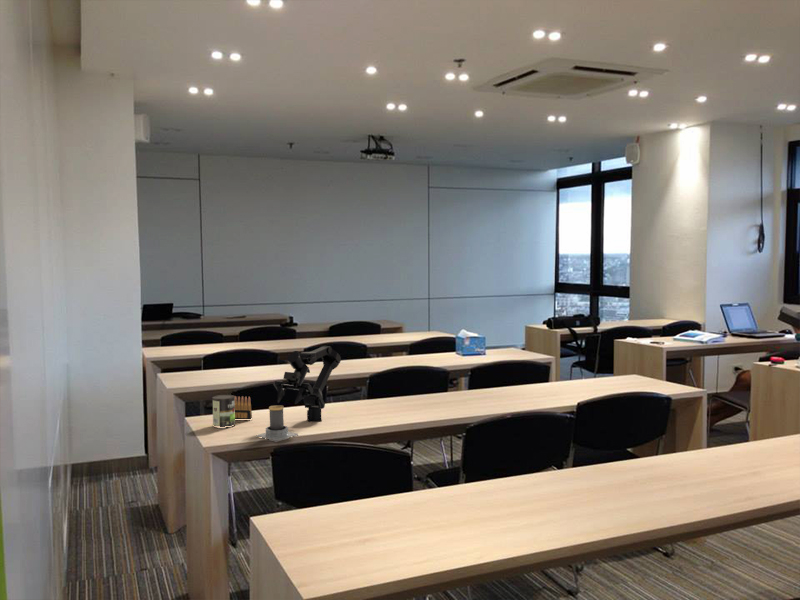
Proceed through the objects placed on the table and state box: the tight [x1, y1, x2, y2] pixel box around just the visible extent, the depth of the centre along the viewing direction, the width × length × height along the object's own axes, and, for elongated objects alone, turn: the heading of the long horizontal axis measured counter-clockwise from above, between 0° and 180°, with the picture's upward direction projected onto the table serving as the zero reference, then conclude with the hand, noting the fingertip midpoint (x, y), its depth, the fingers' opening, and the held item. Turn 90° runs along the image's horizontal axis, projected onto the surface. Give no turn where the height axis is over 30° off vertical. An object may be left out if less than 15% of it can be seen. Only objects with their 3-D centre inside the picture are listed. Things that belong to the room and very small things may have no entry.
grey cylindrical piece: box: [268, 404, 285, 430], centre depth 297 cm, size 6×6×12 cm
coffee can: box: [211, 394, 236, 427], centre depth 316 cm, size 10×10×14 cm
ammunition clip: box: [234, 395, 253, 419], centre depth 328 cm, size 11×2×12 cm, turn 81°
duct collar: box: [255, 425, 299, 443], centre depth 297 cm, size 13×13×4 cm
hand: (286, 402), depth 304 cm, fingers open, 9 cm apart
